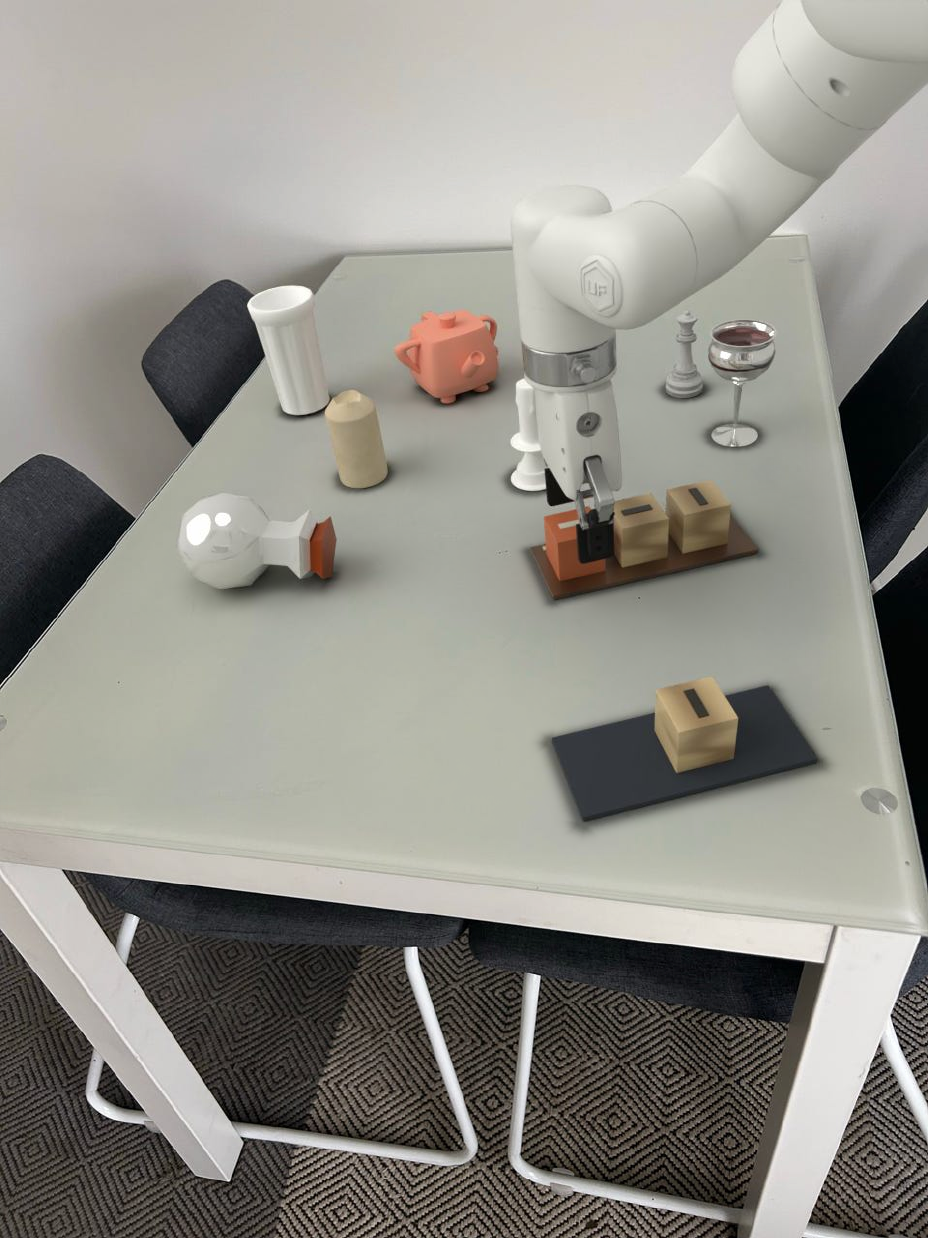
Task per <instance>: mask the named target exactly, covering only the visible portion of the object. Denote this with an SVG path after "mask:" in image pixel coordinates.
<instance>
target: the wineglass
mask: <svg viewBox="0 0 928 1238" xmlns="http://www.w3.org/2000/svg"><path fill="white" fill-rule="evenodd" d="M777 335H778V332H777V329H776V327H774V325H772V324H771V323H769V322H766V321H764V320H763V321H762V320H759V319H750V318H737V319H731V320H725V321H724V322H720V323H718V324H717V325H714V326H712V328H711V330H710V331H709V336H710V338H711V342H710V344H709V345H708V350H707V352H708V354H707V356H708V357H707V359H708V362H709V364H710V367H711V368H712V369H713V371H714V372H715V373H716V374H717V375H718V376H720V377H721V378H722V379H723V380H725V381H729V382H731V383H732V385H734V397H733V398H734V399H733V423H728V424H723V425H720V426H717V427H716V428H715V429H713V430H712V432H711V438H712V440H713V441H714V442H715V443H716V444H719V445H721V446H724V447H731V448H740V447H745V446H746V447H747V446H749V445H751V444H753V443H754V442H755V441H757V439H758V437H759V436H758V435H759V434H758V432H757V430H756V429H755V428H753V427H752V426H748V425H746V424H739V423H738V421H739V415H740V409H741V408H740V407H741V400H742V399H741V398H742V393H743V385H745V384H746V383H747V382H751V381H753V380H756V379H757V378H758V377H760V376H761V375H762V374H764V373H766V371H768V370H769V368H770V366H771V365H772V363H773V361H774V359H775V356H776V345H775V342H774V340H775V338H776V336H777Z"/></svg>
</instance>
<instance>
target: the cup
mask: <svg viewBox="0 0 928 1238" xmlns="http://www.w3.org/2000/svg"><path fill="white" fill-rule="evenodd" d="M246 307H247V309H248V312H249V314H250V317H251V320H252V321H253V322H254V324H255V327H256V331H257V334H258V337H259V340H260V343H261V346H262V349H263V352H264V356H265V358H266V362H267V365H268V368H269V371H270V374H271V377H272V381H273V384H274V388H275V391H276V393H277V396H278V400H279V403H280V405H281V409H282V411H283V412H285V413H286V414H288V415H292V416H300V415H301V416H302V415H308V414H313V413H316V412H318V411H320V410H322V409H324V408H325V407H326V406H328V405H329V403H330V396H329V390H328V385H327V379H326V375H325V369H324V363H323V359H322V358H323V357H322V352H321V347H320V341H319V336H318V330H317V326H316V325H317V324H316V318H315V314H314V309H315V295H314V293H313V291H312V290H311V288H309V287H306V286H303V285H294V284H293V285H282V286H277V287H273V288H269V289H266V290H264V291H261V292H258V293H257V294H255V295H254V296H252V297H251V298H250V299H249V301H248V302H247V305H246Z"/></svg>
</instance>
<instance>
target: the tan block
mask: <svg viewBox="0 0 928 1238" xmlns="http://www.w3.org/2000/svg"><path fill="white" fill-rule="evenodd" d="M725 696H726V695H725V694H724V692H723V690H722V689H721V688H720V686H719V684H718V683H717V681H716V679H715V677H714V676H712V675H711V676H708V677H704V678H700V679H695V680H691V681H686V682H683V683H678V684H674V685H670V686H665V687H661V688H658V689H657V688H656V689H655V698H654V699H655V700H654V713H655V732H656V734H657V736H658V738H659V740H660V742H661V744H662V746H663V748H664V750H665V752H666V754H667V756H668V758H669V760H670V762H671V763H672V765H673V767H674V769H675V771H676V773H679V772H683V771H687V770H691V769H695V768H699V767H703V766H707V765H711V764H715V763H719V762H723V761H727V760H731V759H734V751H735V743H736V734H737V725H738V717H737V715H736V713H735V712H734V710H733V709H732V707H731V705H730V704H729V702H728V700H727V699H726V697H725Z"/></svg>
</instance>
